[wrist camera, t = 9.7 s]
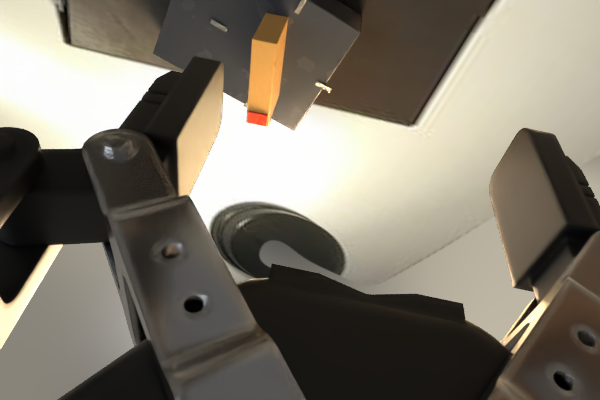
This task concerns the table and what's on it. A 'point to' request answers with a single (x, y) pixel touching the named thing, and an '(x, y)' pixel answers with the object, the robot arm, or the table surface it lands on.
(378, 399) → the robot arm
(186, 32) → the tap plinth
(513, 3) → the table surface
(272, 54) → the tap lever
